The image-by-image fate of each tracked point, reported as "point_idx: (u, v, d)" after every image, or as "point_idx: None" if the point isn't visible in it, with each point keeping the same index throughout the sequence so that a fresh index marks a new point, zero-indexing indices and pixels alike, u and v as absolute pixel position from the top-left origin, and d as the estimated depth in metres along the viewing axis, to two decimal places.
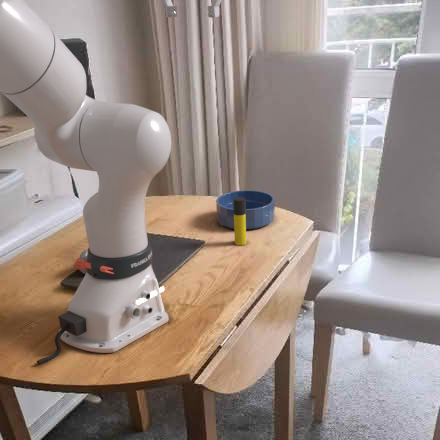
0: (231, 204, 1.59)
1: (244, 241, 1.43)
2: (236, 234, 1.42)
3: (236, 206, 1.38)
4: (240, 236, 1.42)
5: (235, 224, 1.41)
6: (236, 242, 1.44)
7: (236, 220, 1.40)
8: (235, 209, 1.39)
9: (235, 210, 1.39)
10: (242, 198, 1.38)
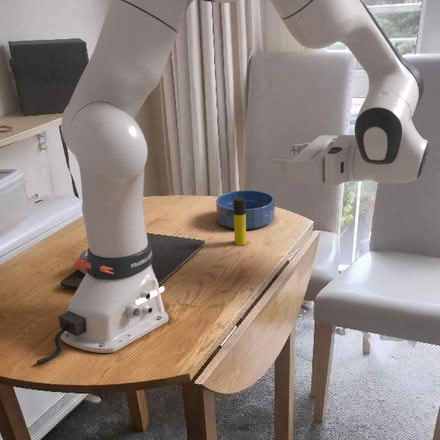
0: (231, 204, 1.59)
1: (244, 241, 1.43)
2: (236, 234, 1.42)
3: (236, 206, 1.38)
4: (240, 236, 1.42)
5: (235, 224, 1.41)
6: (236, 242, 1.44)
7: (236, 220, 1.40)
8: (235, 209, 1.39)
9: (235, 210, 1.39)
10: (242, 198, 1.38)
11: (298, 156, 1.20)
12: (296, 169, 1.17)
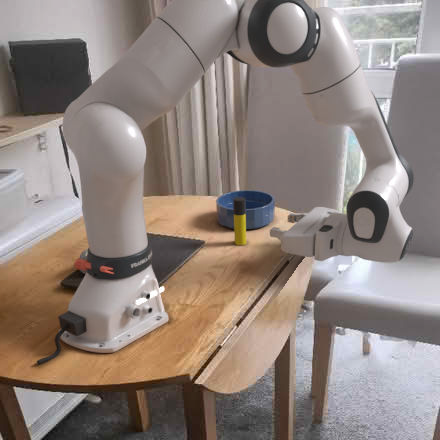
0: (231, 204, 1.59)
1: (244, 241, 1.43)
2: (236, 234, 1.42)
3: (236, 206, 1.38)
4: (240, 236, 1.42)
5: (235, 224, 1.41)
6: (236, 242, 1.44)
7: (236, 220, 1.40)
8: (235, 209, 1.39)
9: (235, 210, 1.39)
10: (242, 198, 1.38)
11: (292, 229, 1.29)
12: (289, 242, 1.26)
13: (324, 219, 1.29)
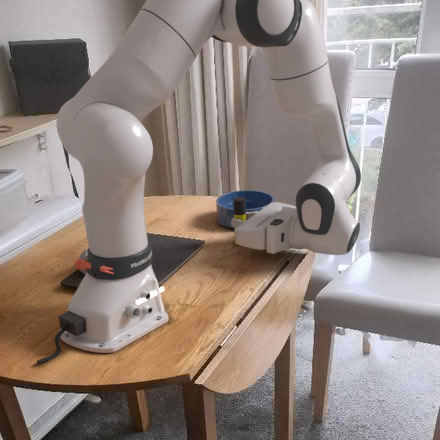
0: (231, 204, 1.59)
1: None
2: None
3: (236, 206, 1.38)
4: None
5: None
6: None
7: None
8: (235, 209, 1.39)
9: (235, 210, 1.39)
10: (242, 198, 1.38)
11: (246, 223, 1.34)
12: (242, 235, 1.31)
13: (277, 213, 1.34)
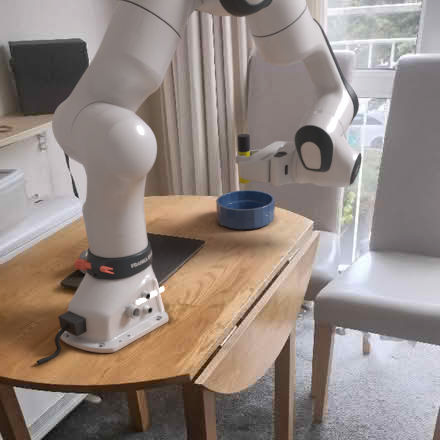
0: (231, 204, 1.59)
1: None
2: None
3: (241, 142, 1.40)
4: None
5: None
6: (240, 180, 1.46)
7: None
8: (239, 146, 1.41)
9: (239, 147, 1.41)
10: (246, 135, 1.41)
11: (250, 157, 1.37)
12: (246, 168, 1.34)
13: (280, 148, 1.37)
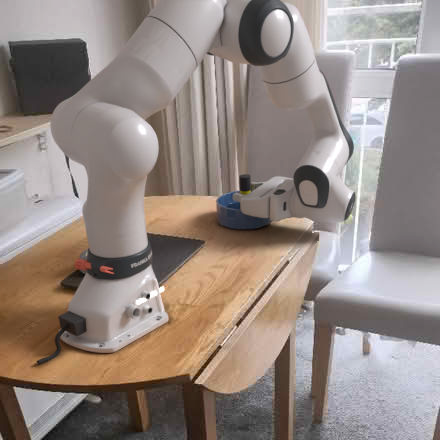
0: (231, 204, 1.59)
1: None
2: None
3: (242, 182, 1.49)
4: None
5: None
6: None
7: None
8: (241, 185, 1.50)
9: (241, 186, 1.50)
10: (247, 175, 1.50)
11: (251, 193, 1.45)
12: (247, 204, 1.42)
13: (279, 185, 1.45)
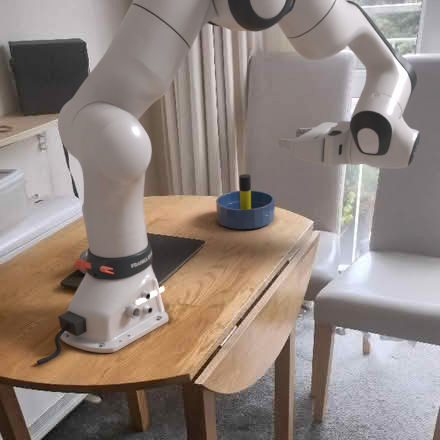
0: (231, 204, 1.59)
1: None
2: None
3: (242, 182, 1.49)
4: None
5: (241, 200, 1.53)
6: None
7: (242, 196, 1.52)
8: (241, 185, 1.50)
9: (241, 186, 1.50)
10: (247, 175, 1.50)
11: (301, 136, 1.31)
12: (299, 148, 1.28)
13: (333, 127, 1.31)
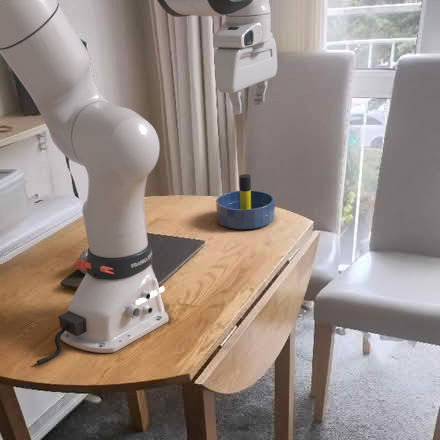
0: (231, 204, 1.59)
1: None
2: None
3: (242, 182, 1.49)
4: None
5: (241, 200, 1.53)
6: None
7: (242, 196, 1.52)
8: (241, 185, 1.50)
9: (241, 186, 1.50)
10: (247, 175, 1.50)
11: None
12: (221, 79, 1.12)
13: None
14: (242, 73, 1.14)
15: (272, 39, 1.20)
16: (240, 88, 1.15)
